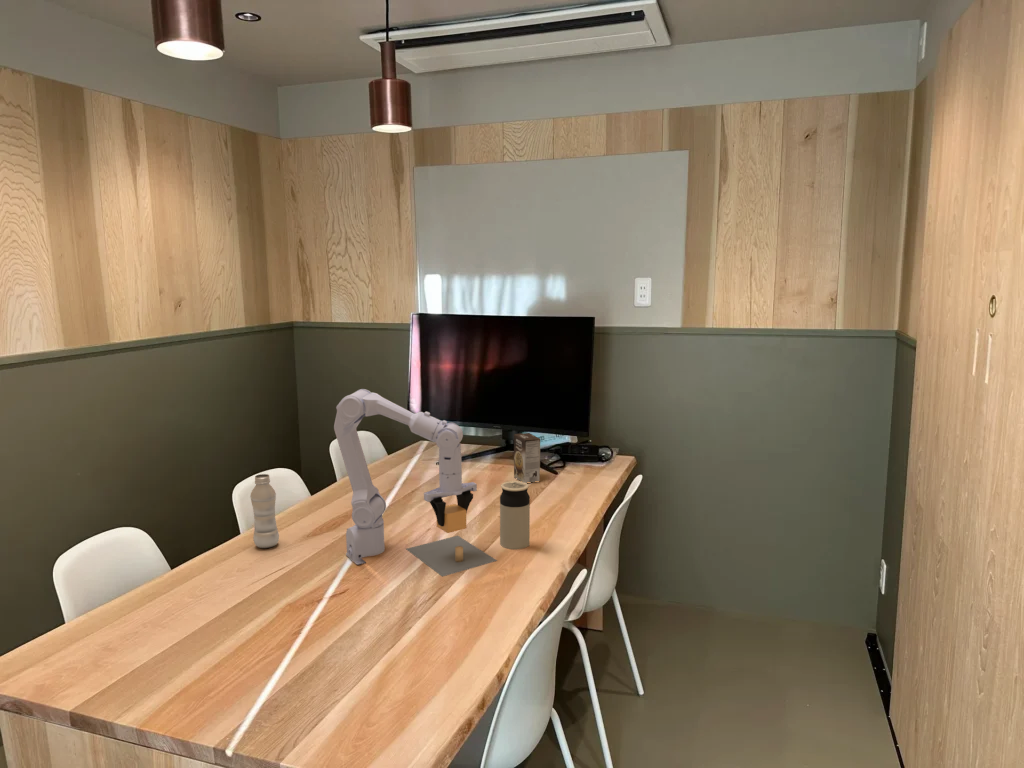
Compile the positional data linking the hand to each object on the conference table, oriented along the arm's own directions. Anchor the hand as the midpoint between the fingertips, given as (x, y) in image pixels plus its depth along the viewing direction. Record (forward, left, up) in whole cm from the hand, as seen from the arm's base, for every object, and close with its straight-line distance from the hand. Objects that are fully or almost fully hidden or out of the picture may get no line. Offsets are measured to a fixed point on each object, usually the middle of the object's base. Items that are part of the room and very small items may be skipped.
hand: (451, 522), depth 179 cm
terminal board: (0, +1, -11) cm, 11 cm away
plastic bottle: (-37, +37, -11) cm, 53 cm away
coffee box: (+56, +44, -11) cm, 72 cm away
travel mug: (+18, -3, -11) cm, 21 cm away
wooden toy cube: (0, 0, -1) cm, 1 cm away
